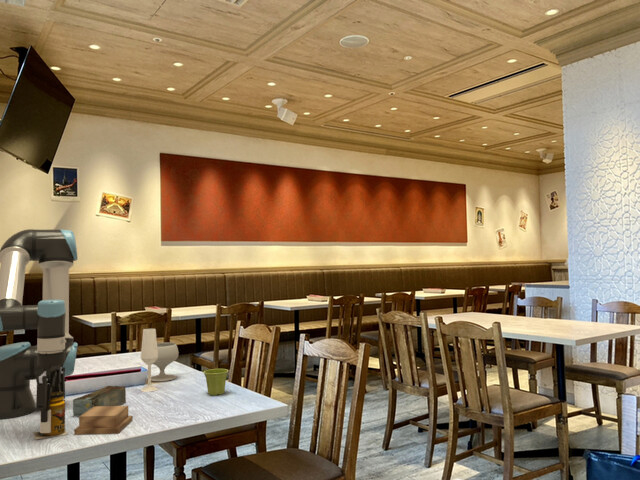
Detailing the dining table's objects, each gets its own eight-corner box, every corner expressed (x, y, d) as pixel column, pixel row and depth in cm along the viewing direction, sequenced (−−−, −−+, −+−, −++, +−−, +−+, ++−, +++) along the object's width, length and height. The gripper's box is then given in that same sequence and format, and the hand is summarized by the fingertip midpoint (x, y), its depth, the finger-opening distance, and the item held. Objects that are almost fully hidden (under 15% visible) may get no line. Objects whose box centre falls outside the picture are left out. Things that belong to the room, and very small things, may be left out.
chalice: (183, 375, 238) (183, 342, 238) (171, 382, 224) (171, 347, 224) (153, 375, 239) (153, 342, 240) (139, 382, 225) (139, 347, 226)
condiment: (67, 434, 158) (67, 393, 158) (35, 440, 153) (35, 398, 154) (64, 428, 164) (64, 389, 165) (33, 433, 159) (33, 393, 160)
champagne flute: (161, 387, 215) (160, 328, 216) (154, 391, 209) (153, 330, 210) (145, 387, 216) (144, 328, 217) (137, 391, 209) (137, 330, 210)
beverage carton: (71, 417, 177) (71, 397, 177) (108, 402, 195) (108, 384, 195) (91, 418, 175) (91, 398, 175) (127, 403, 193) (127, 385, 193)
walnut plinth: (74, 434, 158) (74, 417, 158) (91, 421, 171) (91, 405, 171) (118, 433, 158) (118, 416, 158) (132, 420, 171) (132, 404, 171)
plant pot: (199, 395, 201) (198, 372, 201) (211, 390, 210) (211, 368, 210) (221, 397, 198) (221, 374, 199) (232, 391, 207) (232, 369, 208)
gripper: (48, 356, 151) (48, 439, 150) (77, 346, 170) (77, 419, 169) (21, 357, 150) (21, 440, 149) (53, 346, 169) (53, 419, 168)
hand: (51, 428), depth 159 cm, fingers closed on condiment, 6 cm apart
